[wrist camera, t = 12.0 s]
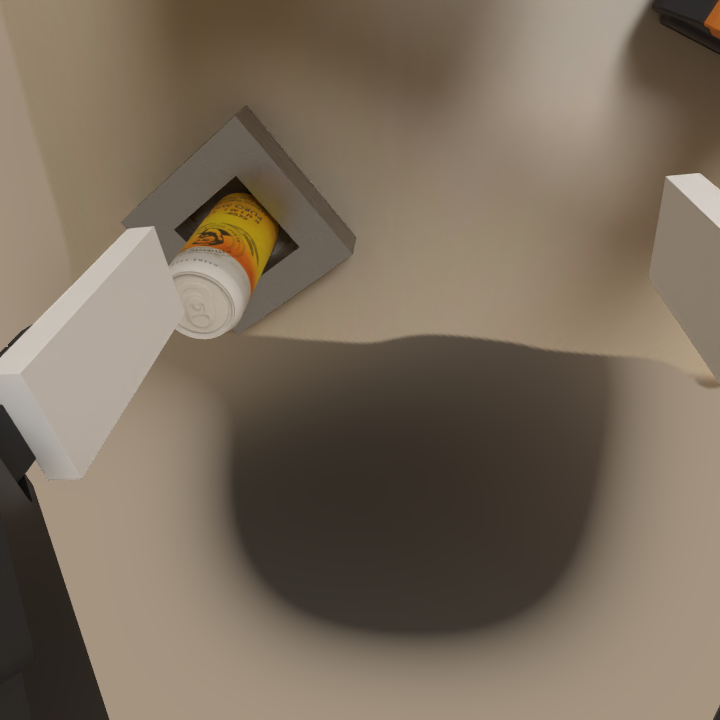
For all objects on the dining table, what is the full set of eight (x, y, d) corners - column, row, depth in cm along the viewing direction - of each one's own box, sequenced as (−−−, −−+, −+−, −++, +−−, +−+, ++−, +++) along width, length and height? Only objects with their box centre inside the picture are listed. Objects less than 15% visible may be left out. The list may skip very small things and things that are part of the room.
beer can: (273, 186, 50) (227, 264, 38) (286, 251, 54) (248, 342, 41) (205, 192, 51) (139, 270, 39) (223, 256, 54) (167, 346, 42)
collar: (136, 207, 52) (120, 222, 49) (246, 105, 46) (235, 115, 44) (246, 316, 58) (237, 335, 55) (355, 237, 52) (352, 254, 49)
